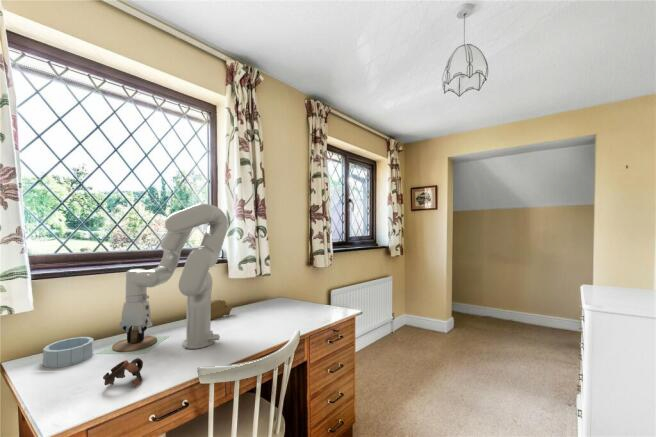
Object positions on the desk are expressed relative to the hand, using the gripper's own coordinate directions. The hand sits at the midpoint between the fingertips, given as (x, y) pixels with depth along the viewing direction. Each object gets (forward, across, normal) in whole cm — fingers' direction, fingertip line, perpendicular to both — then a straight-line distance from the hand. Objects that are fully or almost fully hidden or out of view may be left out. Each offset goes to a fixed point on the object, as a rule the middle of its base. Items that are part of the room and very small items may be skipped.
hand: (135, 341), depth 127 cm
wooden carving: (+2, -20, -38) cm, 43 cm away
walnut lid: (+1, 0, 0) cm, 1 cm away
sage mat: (+2, 0, 0) cm, 2 cm away
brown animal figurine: (+2, -17, +31) cm, 35 cm away
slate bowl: (+2, +16, +14) cm, 21 cm away
